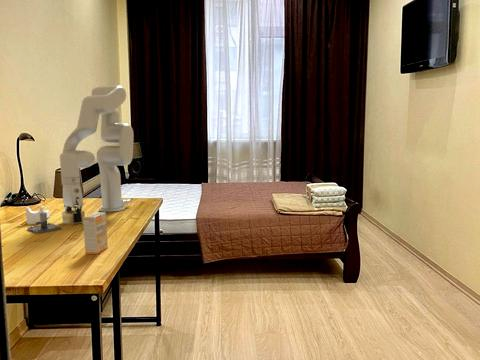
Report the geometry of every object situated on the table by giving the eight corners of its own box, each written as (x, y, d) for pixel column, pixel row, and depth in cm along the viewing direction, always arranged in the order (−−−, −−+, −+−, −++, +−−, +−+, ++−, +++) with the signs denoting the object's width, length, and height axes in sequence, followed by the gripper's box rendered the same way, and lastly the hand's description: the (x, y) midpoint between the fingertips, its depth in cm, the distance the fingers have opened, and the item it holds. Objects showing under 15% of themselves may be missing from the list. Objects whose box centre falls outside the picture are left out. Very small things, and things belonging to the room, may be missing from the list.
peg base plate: (51, 225, 209) (49, 209, 208) (61, 229, 202) (60, 212, 201) (27, 229, 202) (26, 213, 201) (37, 233, 195) (35, 216, 194)
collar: (77, 220, 218) (76, 209, 218) (85, 222, 213) (84, 211, 213) (62, 223, 213) (61, 211, 213) (70, 225, 208) (69, 214, 208)
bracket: (44, 223, 214) (42, 207, 213) (27, 224, 213) (25, 208, 212) (50, 217, 227) (48, 201, 226) (33, 218, 225) (32, 202, 224)
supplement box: (98, 254, 165) (95, 217, 163) (84, 254, 166) (82, 216, 164) (108, 247, 173) (106, 211, 171) (96, 247, 174) (93, 211, 172)
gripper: (88, 181, 207) (91, 222, 210) (69, 178, 219) (72, 216, 222) (71, 183, 202) (75, 225, 205) (53, 180, 214) (56, 219, 217)
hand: (73, 220), depth 213 cm, fingers closed on collar, 7 cm apart
